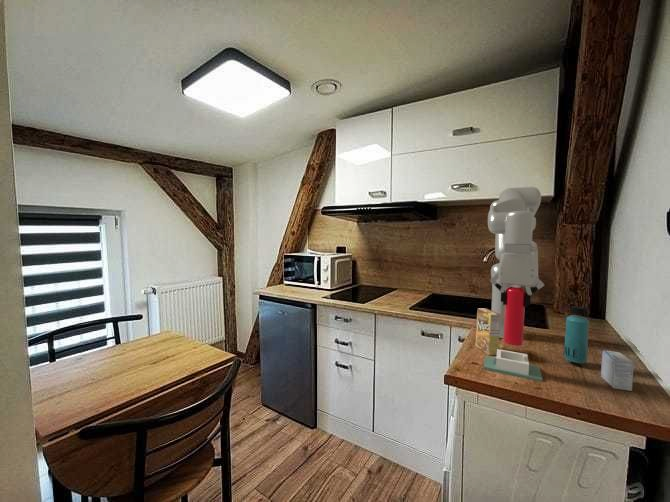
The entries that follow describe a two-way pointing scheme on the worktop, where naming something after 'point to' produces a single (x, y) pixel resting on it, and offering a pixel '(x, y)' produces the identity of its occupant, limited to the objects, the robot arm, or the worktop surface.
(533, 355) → the worktop surface
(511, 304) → the bottle
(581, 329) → the beverage bottle
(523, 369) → the board
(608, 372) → the medicine box
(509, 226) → the robot arm
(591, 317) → the worktop surface
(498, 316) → the candy box
